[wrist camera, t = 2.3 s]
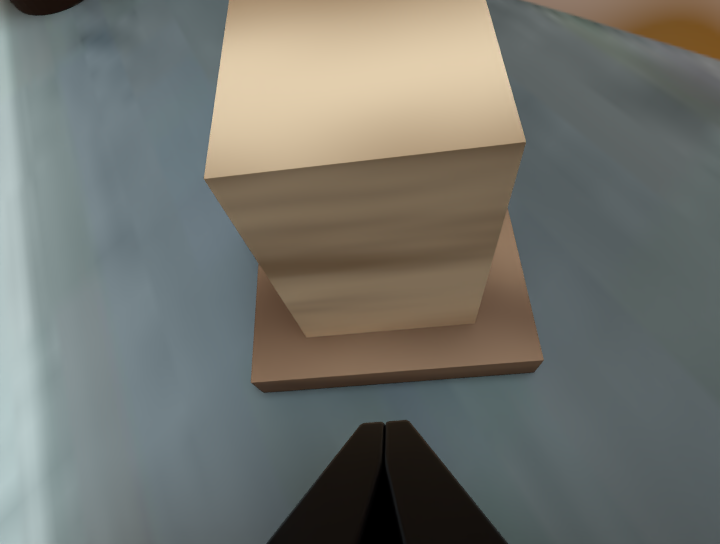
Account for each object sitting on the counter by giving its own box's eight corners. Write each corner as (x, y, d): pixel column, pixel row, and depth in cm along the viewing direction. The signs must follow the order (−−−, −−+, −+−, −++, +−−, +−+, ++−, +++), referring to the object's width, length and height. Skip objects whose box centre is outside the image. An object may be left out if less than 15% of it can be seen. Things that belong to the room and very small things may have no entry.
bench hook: (534, 372, 17) (593, 298, 11) (263, 392, 18) (187, 333, 12) (464, 64, 24) (478, -74, 19) (279, 88, 25) (237, -37, 20)
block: (474, 323, 16) (525, 142, 8) (306, 337, 17) (203, 179, 9) (439, 116, 21) (450, -127, 13) (308, 132, 21) (242, -92, 13)
